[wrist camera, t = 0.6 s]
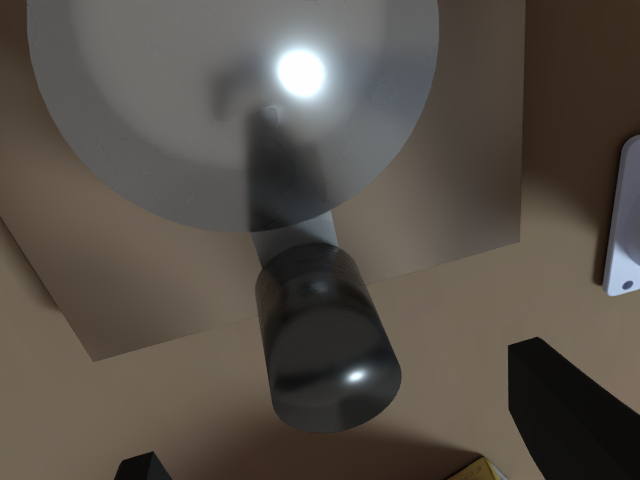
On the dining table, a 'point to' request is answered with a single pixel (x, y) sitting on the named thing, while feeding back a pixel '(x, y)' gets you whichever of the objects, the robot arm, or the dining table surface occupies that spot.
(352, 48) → the grey disc with handle
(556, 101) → the dining table surface
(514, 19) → the lock base
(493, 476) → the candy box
